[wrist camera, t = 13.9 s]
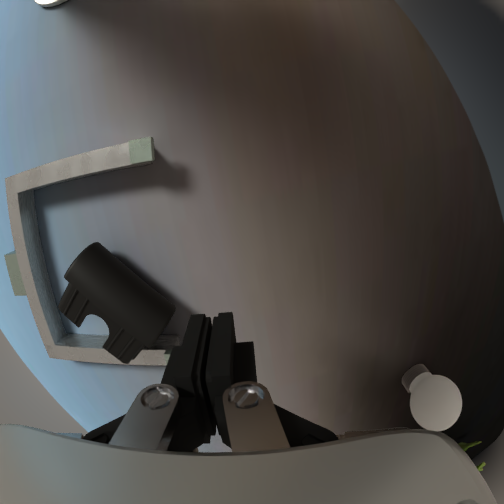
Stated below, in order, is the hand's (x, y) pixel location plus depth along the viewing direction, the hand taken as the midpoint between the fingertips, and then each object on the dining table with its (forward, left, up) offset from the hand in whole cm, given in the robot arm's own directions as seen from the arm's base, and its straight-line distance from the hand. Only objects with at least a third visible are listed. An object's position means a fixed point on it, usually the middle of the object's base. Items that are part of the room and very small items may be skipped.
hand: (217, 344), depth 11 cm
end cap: (+4, -11, -17) cm, 21 cm away
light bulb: (+20, +23, -17) cm, 35 cm away
